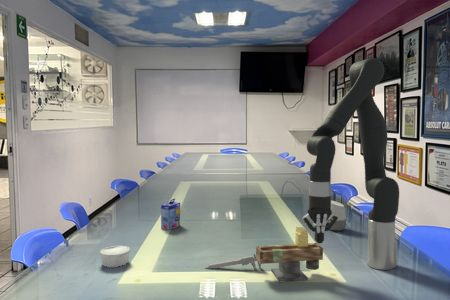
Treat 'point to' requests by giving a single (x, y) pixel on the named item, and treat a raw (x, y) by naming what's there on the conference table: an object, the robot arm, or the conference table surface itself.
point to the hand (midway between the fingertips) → (319, 242)
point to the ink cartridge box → (170, 215)
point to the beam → (290, 260)
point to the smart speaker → (340, 213)
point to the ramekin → (115, 256)
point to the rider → (301, 238)
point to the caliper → (237, 262)
